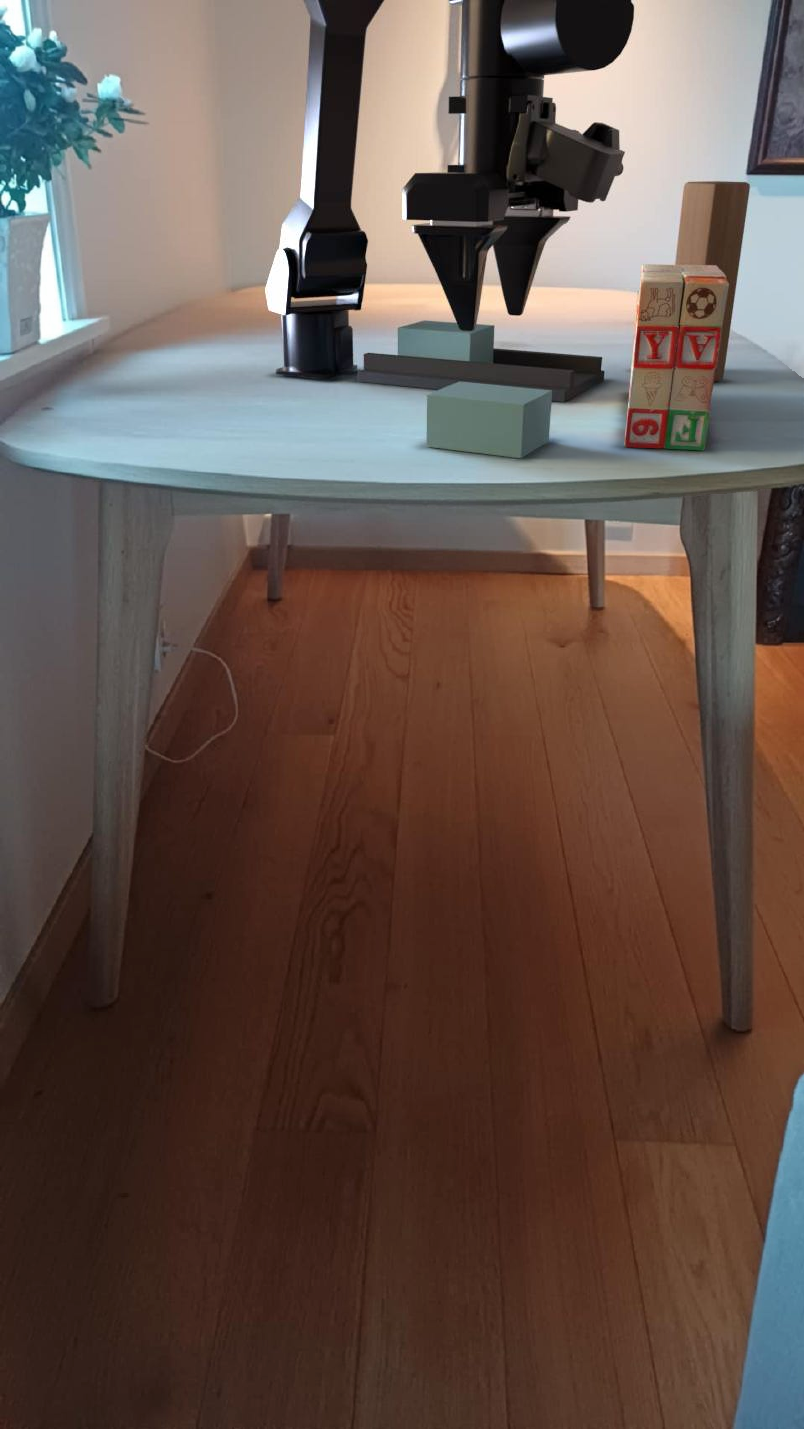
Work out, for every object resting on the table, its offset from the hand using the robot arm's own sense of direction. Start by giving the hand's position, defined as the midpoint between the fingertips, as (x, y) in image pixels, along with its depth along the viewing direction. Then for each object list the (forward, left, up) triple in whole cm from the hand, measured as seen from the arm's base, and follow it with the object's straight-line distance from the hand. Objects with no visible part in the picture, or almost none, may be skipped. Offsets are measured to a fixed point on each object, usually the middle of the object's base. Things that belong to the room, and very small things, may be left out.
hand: (492, 322), depth 79 cm
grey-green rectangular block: (0, 0, -9) cm, 9 cm away
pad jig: (-11, +24, -9) cm, 28 cm away
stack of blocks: (+10, +15, -9) cm, 20 cm away
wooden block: (+6, +36, -9) cm, 38 cm away
